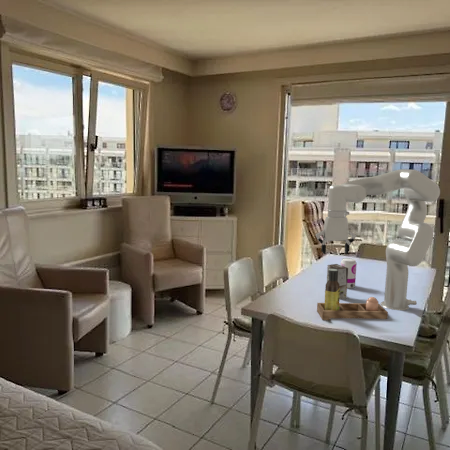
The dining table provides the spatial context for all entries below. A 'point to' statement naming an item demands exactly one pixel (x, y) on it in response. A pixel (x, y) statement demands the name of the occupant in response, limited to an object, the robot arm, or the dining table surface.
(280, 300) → the dining table surface
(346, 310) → the caddy
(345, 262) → the supplement can
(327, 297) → the sauce bottle
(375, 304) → the brown egg
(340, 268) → the coffee box
